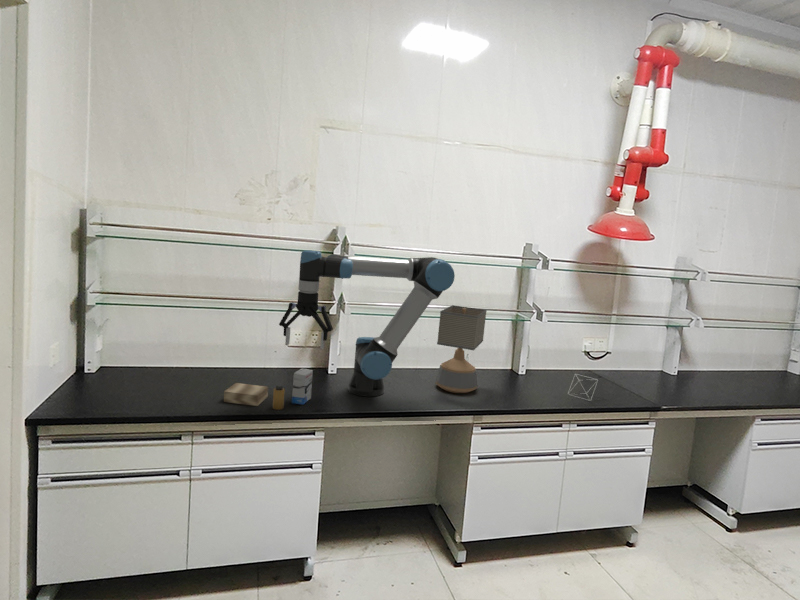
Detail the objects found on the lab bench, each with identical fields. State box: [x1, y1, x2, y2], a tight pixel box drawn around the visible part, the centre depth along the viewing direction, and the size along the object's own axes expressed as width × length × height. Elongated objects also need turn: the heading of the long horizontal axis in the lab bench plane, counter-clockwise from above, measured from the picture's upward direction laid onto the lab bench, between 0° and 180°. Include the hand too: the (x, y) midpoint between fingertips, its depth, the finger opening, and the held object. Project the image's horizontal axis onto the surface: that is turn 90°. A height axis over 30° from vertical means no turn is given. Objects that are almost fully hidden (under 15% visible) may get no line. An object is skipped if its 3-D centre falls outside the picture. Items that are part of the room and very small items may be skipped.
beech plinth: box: [223, 382, 269, 407], centre depth 204 cm, size 13×11×4 cm
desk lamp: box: [435, 304, 487, 394], centre depth 239 cm, size 22×19×37 cm
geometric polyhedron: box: [567, 373, 599, 402], centre depth 247 cm, size 12×11×9 cm
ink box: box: [291, 368, 313, 405], centre depth 208 cm, size 8×5×12 cm, turn 168°
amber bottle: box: [272, 384, 285, 410], centre depth 199 cm, size 4×4×8 cm
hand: (304, 346), depth 205 cm, fingers open, 13 cm apart
